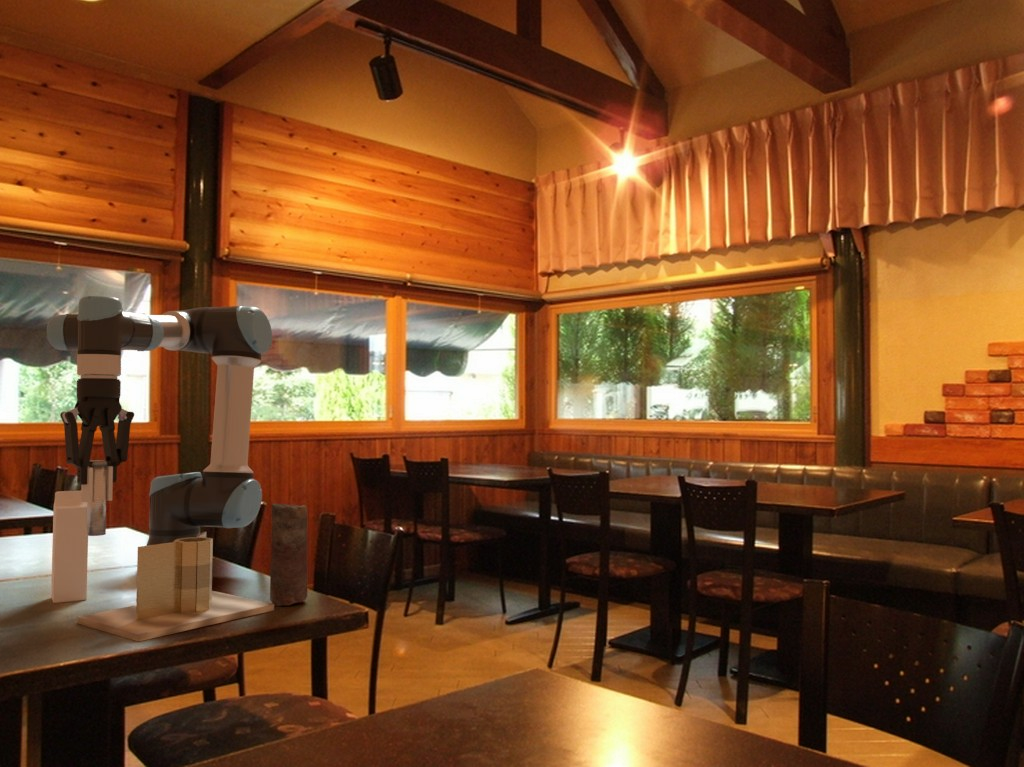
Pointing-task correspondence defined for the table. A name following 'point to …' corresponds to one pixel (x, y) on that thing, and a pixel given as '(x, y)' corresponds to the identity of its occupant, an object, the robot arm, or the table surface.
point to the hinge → (174, 577)
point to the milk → (69, 548)
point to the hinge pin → (97, 499)
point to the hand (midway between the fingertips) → (96, 500)
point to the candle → (288, 554)
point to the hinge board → (173, 618)
